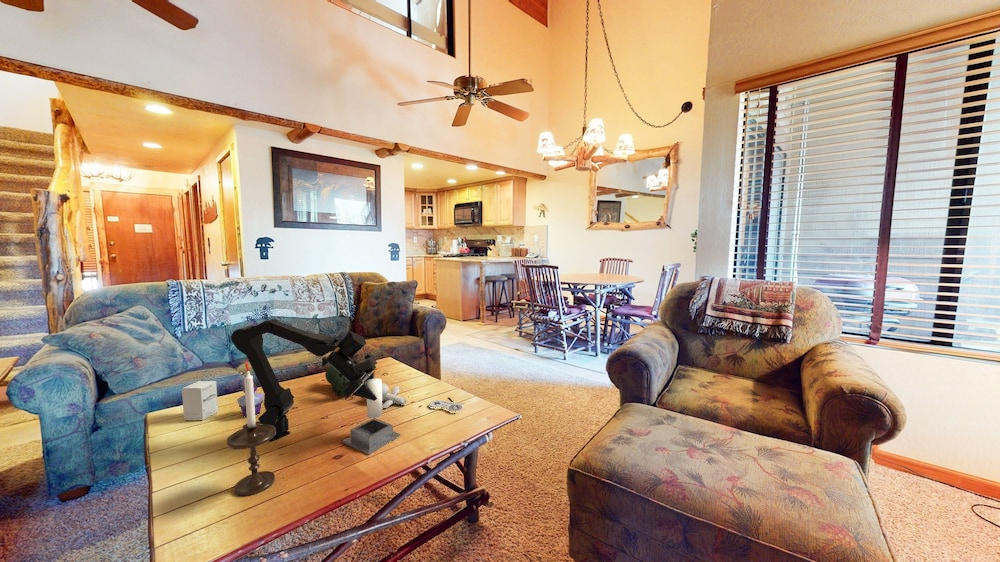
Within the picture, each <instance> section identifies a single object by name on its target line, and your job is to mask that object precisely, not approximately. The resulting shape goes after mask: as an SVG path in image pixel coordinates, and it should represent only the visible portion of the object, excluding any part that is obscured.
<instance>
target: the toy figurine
mask: <svg viewBox="0 0 1000 562" xmlns="http://www.w3.org/2000/svg"><path fill="white" fill-rule="evenodd" d="M339 374H340V373H339V372H338V371H337V370H336V369H335V368H333V367H332V366H331V365H330V366H329V367H328V368H327V369H326V372H325V374H324V375H325V376H324V377H325V380H326V381H327V383H328V384H330V385H331V390H332V392H335V395H336V396H340V397H344V396H343V395H342V391H343V390H344V389H345V388H346V387H347V386H348V383H349V381H348V380H346V379H345V378H344V377H343V376H342V377H341V378H340V377H339V376H338V375H339ZM353 393H354V392H353ZM353 393H352V394H353Z"/></svg>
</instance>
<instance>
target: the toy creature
mask: <svg viewBox="0 0 1000 562" xmlns="http://www.w3.org/2000/svg"><path fill="white" fill-rule="evenodd" d="M399 393H400V386H399V385H396V386H394V387H393V388H392V390H391V393H390V387H389V386H388V384H386V383H385V382H382V401H383V402H384V403H382V409H383V408H386V409H388V407H389V408H390V406H392V405H393V404H395V403H396V405H400V404H401V405H400V406H402V405H404V404H405V403H406V404H407V403H408V402H407V401H408V399H407V398H404V397H401V396H399ZM404 406H405V405H404Z"/></svg>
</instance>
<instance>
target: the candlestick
mask: <svg viewBox="0 0 1000 562" xmlns="http://www.w3.org/2000/svg"><path fill="white" fill-rule="evenodd" d="M249 364H250V363H249V362H247V361H245V366H244V367H245V370H246V375H245V376H244V378H243V381H244V388H245V393H244V395H245V399H246V414H247V418H246V423H245V424H243V426H242V428H241V429H239V430H237V431H235V432H233V433H231V434H230V435H229V436H228V437H227V438H226V446H227V447H228V448H229V449H231V450H237V451H238V450H247V449H248V450H249V454H250V455H249V457H247V463H248V464H250V466H249V467H248V470H249V471H251V474H249V475H248V474H247V475H246V476H244V477H243V478H241V479H240V480H239V481H237V482H236V484H235V485H234V494H235V495H237V496H238V497H249V496H255V495H257V494H260V493H262V492H265V491H266V490H267V489H269V488H271V486H272V485H273V484H274V483H275V481H276V477H275V476H276V475H275V473H274V472H272V471H268V470H263V471H262V470H261V471H258V469H259V468H260V467H261V465H260V464H259V463H258V462H259V460H260V459H261V455H259V454H257V447H258V446H261V445H264V444H265V443H267V442H270V441H269V440H271V439H272V438H273V437H274V436H275V435H276V428H275V426H273V425H268V424H260V422H259V421H256V416H255V404H254V388H253V383H254V376H253V375H251V372H250V365H249Z"/></svg>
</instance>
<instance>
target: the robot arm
mask: <svg viewBox="0 0 1000 562" xmlns="http://www.w3.org/2000/svg"><path fill="white" fill-rule="evenodd" d="M265 334H271V335H273V336H276V337H278V338H281V339H284V340H286V341H289V342H292V343H295V344H297V345H300V346H302V347H303V348H304V349H305V350H306V351H307V352H309V353H310V354H312V355H313V356H316V357H318V358H319V357H321V360H322V361H321V366H322V367H325V366H326V365H328V364H329V365H330V366H332V367H333V368H335V369H336V370H337V371H338V372H339V373H340V374H339V375H338V376H339V377H340V378H341V377H342V376H343V377H344V378H345V379H346V380H348V381H349V383H348V386H347V387H346V388H345V389H344V390H343V391H342V395H343V396H342V397H344V398H345V399H346V400H347V399H348V398H349V397H350V396H352V397H359V398H362V399H366V400H367V399H370V400H374V401H375V400H376V399H377V397H376V396H375V395H374V393H373V392H372V391H371V390H370V389H369V388H368V386H367V380H370V379H374V378H375V373H376V371H375V370H376V369H377V364H378V362H377V360H376V359H377V356H375V355H374V354H372V352H369V353H367V354H365V356H364V358H363V359H362V360H360V361H359V359H356V358H355V359H354V360H353V359H352V358H351V357H355V355H357V354H358V353H359V352H360V351H361V350H362V349H363V348H364V347H365V346H366V345H367V342H366V338H364V337H363V336H362V335H360V334H359V333H356V332H353V330H351V331H349V332H348V333H346V335H345V337H343V339H341V338H334V337H332V336H331V335H327V334H325V333H324V334H323V333H311V332H308V331H305V330H303V329H302V328H301V329H300V328H298V327H296V326H294V325H293V326H292V325H290V324H287V323H284V322H282V321H280V320H278V319H276V318H270V319H267V320H264V321H262V322H261V323H258V324H256V325H255V324H254V325H253V324H250V325H246V326H244V327H243V326H242V327H241V328H238V329H234V331H233V332H232V333H231V335H230V342H231V343H232V344H233V345H234V347H235V348H236V349H237V350H238V351H239V352H240V353H241V354H243V355H245V356H246V358H247V360H248V363H249V364H250V365H249V366H250V367H251V368H252V370H253V373H254V376H255V377H256V379H257V382H258V383H259V385H260V387H261V389H262V392H263V394H264V398H263V406H264V409H265V410H264V412H263V413H262V414H261V415H259V417H258V419H257V420H258V422H260V425H261V424H268V425H273V426H275V428H276V435H275V436H274V437H273V438H272V439H271V440H269V441H268V442H273V441H276V440H278V439H281V438H283V437H286V436H288V435H290V433H291V432H290V431H289V429H290V428H289V418H287V417H288V416H287V415H286V414H288V413H289V411H290V409H291V408H292V407H293V406H294V402H295V401H294V398H295V396H294V395H293V394H292V392H291V389H290V387H287V388H284V387H282V386H281V384H280V383H279V381H278V378H277V375H276V374H275V372H274V370H273V368H272V366H271V363H270V362H269V360H268V359H269V358H268V357H267V355H266V352H265V350H264V349H263V348H264V337H263V335H265ZM337 349H338V350H337ZM327 354H328V355H327ZM326 355H327V356H326ZM353 392H354V393H353Z"/></svg>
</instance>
